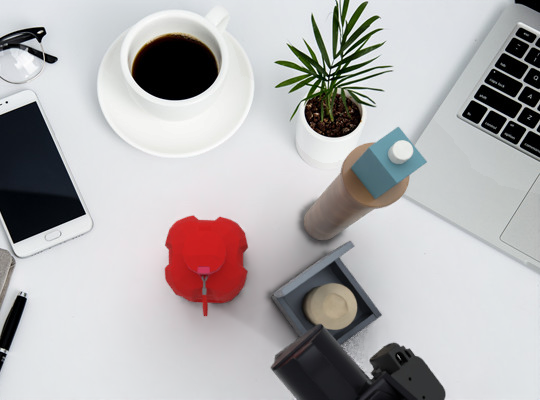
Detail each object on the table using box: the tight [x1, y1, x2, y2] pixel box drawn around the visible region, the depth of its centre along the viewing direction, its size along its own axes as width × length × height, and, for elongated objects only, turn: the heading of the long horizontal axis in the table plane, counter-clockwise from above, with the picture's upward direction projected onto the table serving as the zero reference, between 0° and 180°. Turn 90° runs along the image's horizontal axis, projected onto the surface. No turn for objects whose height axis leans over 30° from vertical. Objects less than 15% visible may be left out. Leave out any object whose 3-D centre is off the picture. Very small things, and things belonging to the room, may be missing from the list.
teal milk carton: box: [351, 126, 428, 199], centre depth 51 cm, size 4×3×8 cm
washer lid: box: [272, 240, 355, 298], centre depth 73 cm, size 10×10×1 cm
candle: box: [302, 283, 357, 330], centre depth 77 cm, size 6×6×10 cm
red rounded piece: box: [164, 215, 249, 318], centre depth 72 cm, size 9×11×25 cm
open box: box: [270, 257, 383, 346], centre depth 80 cm, size 10×10×6 cm
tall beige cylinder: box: [303, 141, 410, 241], centre depth 70 cm, size 6×6×30 cm
